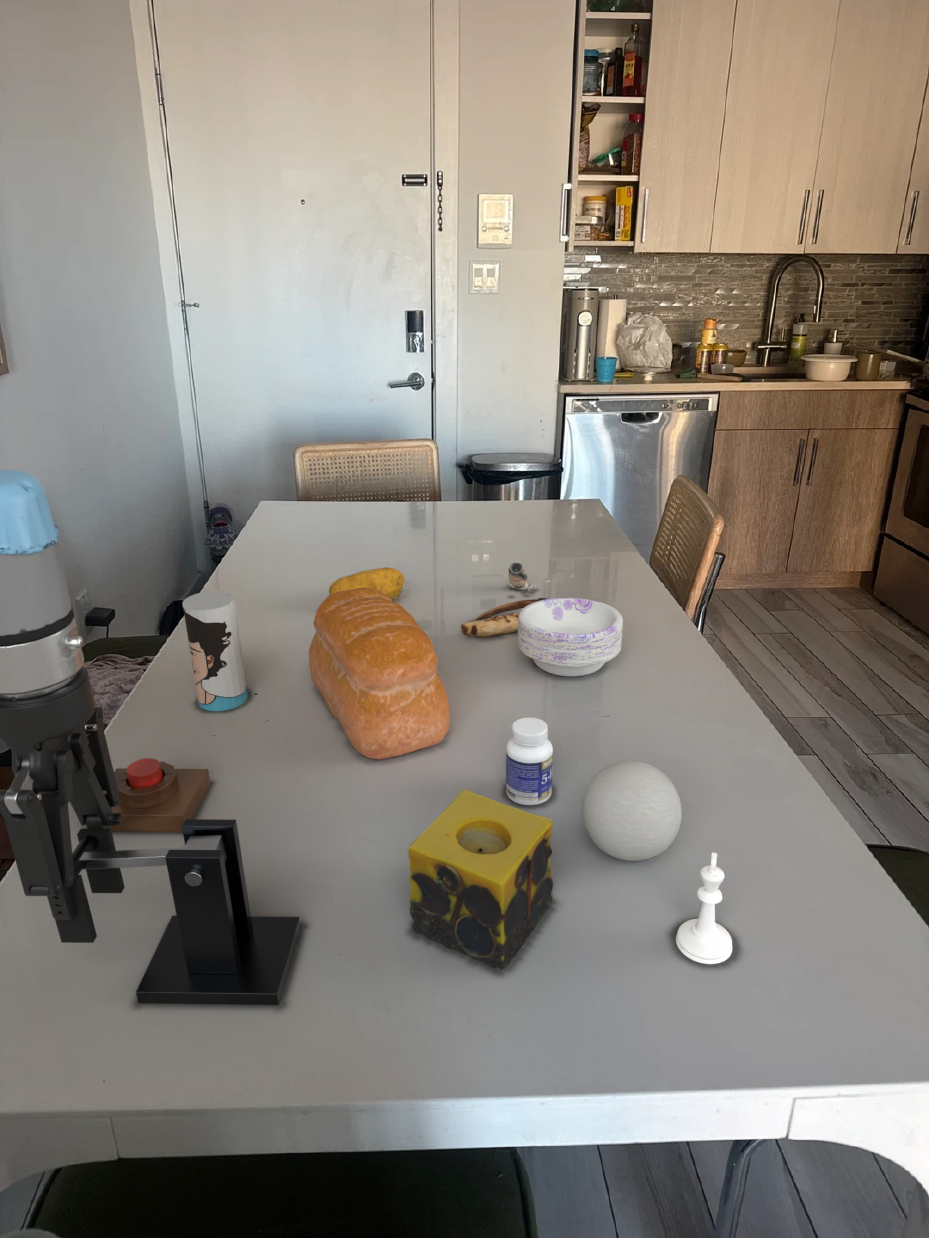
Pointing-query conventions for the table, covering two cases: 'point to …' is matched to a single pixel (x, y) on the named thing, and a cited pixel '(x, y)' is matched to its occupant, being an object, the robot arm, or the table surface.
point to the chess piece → (706, 923)
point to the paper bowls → (570, 635)
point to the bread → (378, 674)
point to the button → (144, 773)
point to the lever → (135, 853)
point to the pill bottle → (529, 762)
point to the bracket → (217, 931)
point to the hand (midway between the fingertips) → (94, 913)
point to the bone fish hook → (496, 620)
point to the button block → (160, 800)
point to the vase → (518, 577)
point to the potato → (372, 581)
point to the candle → (481, 878)
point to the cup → (215, 650)
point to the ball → (631, 810)
